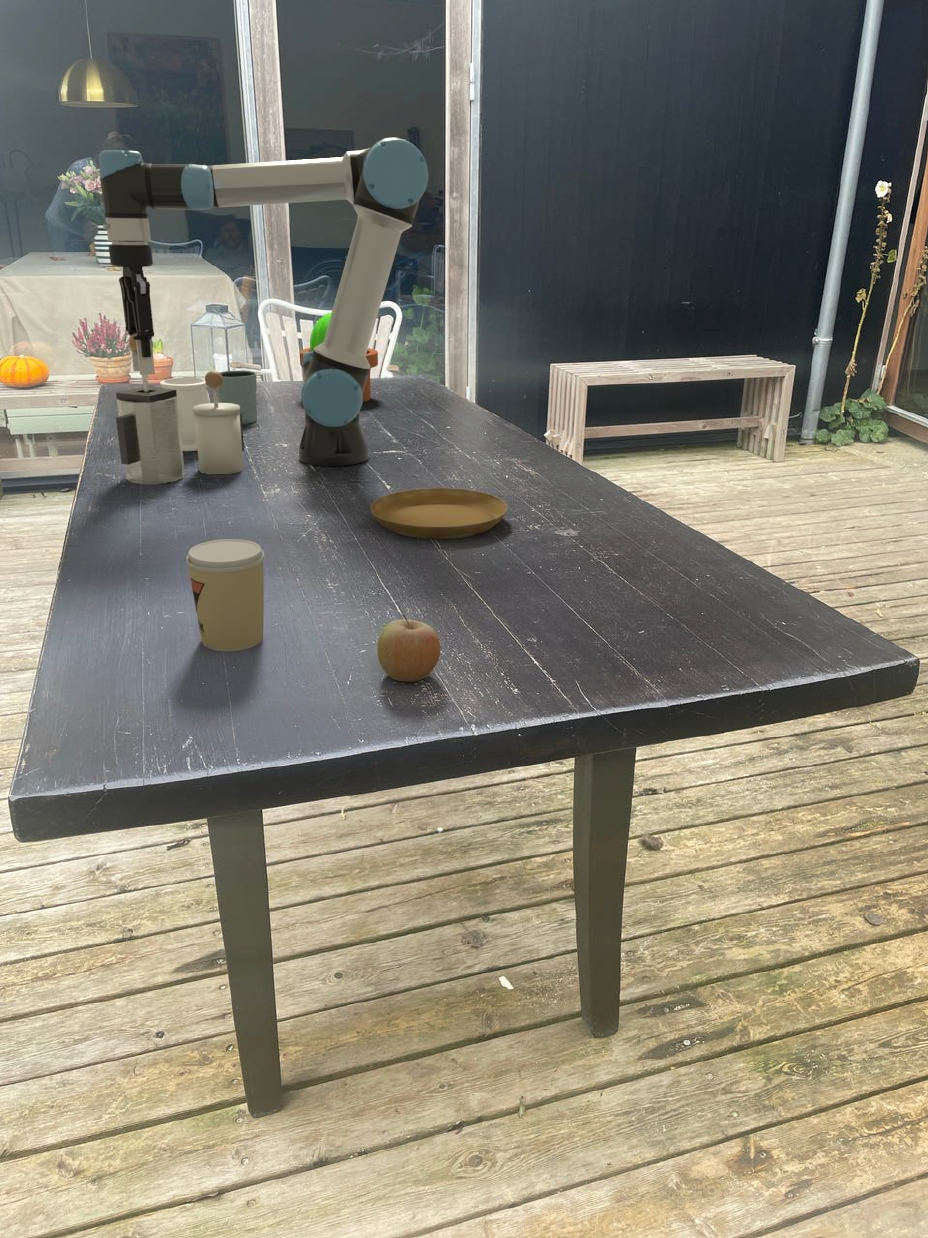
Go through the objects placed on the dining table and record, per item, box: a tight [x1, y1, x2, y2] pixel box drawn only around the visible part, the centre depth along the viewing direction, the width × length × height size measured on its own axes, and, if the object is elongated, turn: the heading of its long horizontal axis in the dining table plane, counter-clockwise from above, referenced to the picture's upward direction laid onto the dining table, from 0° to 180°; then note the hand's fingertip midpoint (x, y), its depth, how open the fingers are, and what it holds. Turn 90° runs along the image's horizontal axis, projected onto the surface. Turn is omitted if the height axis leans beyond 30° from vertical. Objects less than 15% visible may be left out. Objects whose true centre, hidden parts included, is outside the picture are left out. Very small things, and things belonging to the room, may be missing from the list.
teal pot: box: [217, 369, 258, 425], centre depth 243 cm, size 10×10×12 cm
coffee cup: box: [185, 538, 265, 653], centre depth 119 cm, size 9×9×12 cm
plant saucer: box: [369, 487, 508, 540], centre depth 169 cm, size 24×24×3 cm
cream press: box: [193, 370, 245, 475], centre depth 197 cm, size 9×12×20 cm
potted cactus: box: [299, 310, 379, 404], centre depth 270 cm, size 22×22×25 cm
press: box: [115, 386, 186, 485], centre depth 189 cm, size 11×14×17 cm
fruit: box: [376, 612, 441, 683], centre depth 111 cm, size 8×7×8 cm
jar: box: [160, 377, 211, 452], centre depth 214 cm, size 11×10×15 cm
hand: (144, 372), depth 185 cm, fingers closed on plunger, 4 cm apart
